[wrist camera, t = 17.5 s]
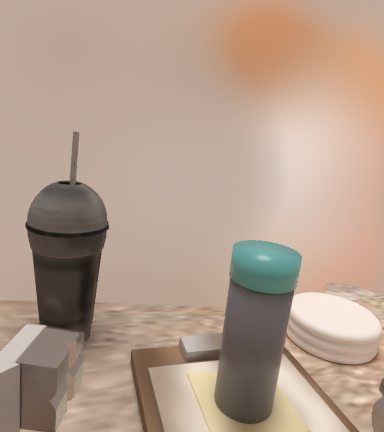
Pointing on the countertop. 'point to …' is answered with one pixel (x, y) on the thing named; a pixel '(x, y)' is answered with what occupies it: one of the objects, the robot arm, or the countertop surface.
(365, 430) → the countertop surface
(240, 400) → the bottle
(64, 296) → the beverage cup
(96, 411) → the countertop surface
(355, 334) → the coaster
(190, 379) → the clipboard
